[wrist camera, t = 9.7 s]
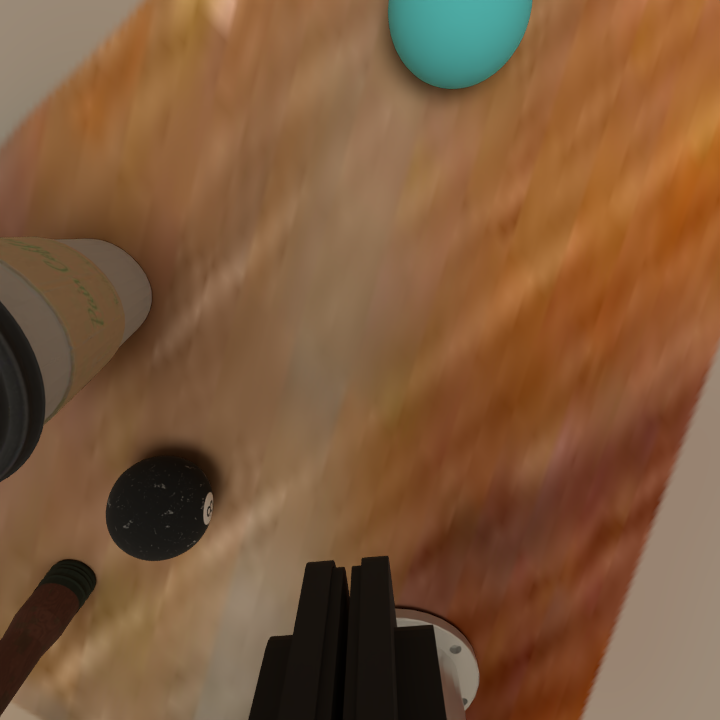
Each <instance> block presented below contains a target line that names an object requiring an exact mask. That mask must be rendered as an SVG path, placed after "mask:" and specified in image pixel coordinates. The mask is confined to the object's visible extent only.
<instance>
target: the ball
mask: <svg viewBox="0 0 720 720" xmlns="http://www.w3.org/2000/svg"><path fill="white" fill-rule="evenodd" d="M531 8H532V0H389V5H388V20H389V29H390V33H391V37H392V41H393V44H394V46H395V49H396V51H397V53H398V55H399V57H400V58H401V60H402V62H403V63H404V64H405V66H406V67H407V68H408V69H409V70H410V71H411V72H412V73H413V74H414V75H415V76H416V77H418V78H419V79H420V80H422V81H424V82H426V83H428V84H430V85H433V86H436V87H440V88H446V89H458V88H465V87H470V86H473V85H475V84H478V83H480V82H482V81H484V80H486V79H487V78H489V77H490V76H492V75H493V74H495V73H496V72H497V71H498V70H499V69H500V68H501V67H502V66H503V65H504V64H505V63H506V62H507V61H508V60H509V59H510V58H511V56H512V55H513V53H514V52H515V50H516V49H517V47H518V46H519V44H520V42H521V40H522V38H523V36H524V33H525V31H526V28H527V25H528V22H529V18H530V13H531Z"/></svg>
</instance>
